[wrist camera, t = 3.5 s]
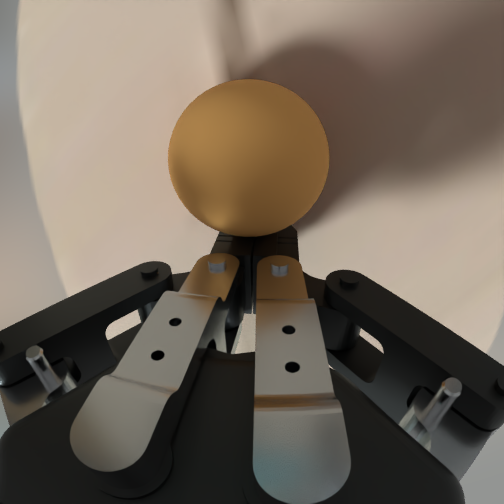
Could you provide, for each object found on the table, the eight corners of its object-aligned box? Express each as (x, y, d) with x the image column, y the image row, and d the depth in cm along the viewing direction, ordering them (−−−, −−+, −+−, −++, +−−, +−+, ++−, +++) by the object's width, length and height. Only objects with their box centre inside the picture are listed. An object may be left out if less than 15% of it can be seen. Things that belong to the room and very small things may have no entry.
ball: (193, 95, 11) (140, 70, 7) (320, 95, 11) (345, 64, 6) (194, 215, 13) (147, 256, 8) (316, 218, 13) (335, 265, 8)
